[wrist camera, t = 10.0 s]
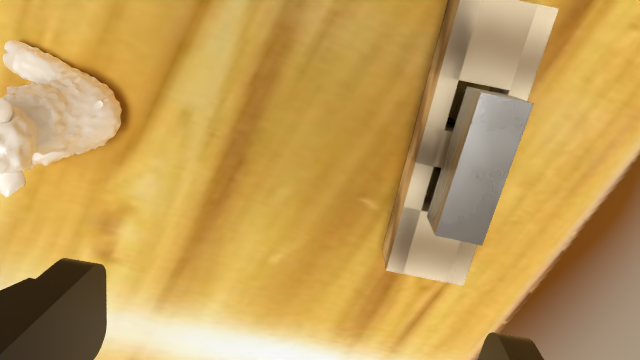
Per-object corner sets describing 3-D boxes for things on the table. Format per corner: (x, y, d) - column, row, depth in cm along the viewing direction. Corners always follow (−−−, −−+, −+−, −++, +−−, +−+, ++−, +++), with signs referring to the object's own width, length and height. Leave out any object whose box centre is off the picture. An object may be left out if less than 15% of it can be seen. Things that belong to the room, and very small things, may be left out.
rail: (450, -6, 30) (463, -11, 27) (535, 11, 30) (558, 8, 27) (382, 249, 36) (386, 270, 33) (452, 263, 36) (463, 285, 33)
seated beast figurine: (14, 38, 33) (-162, 41, 21) (126, 45, 32) (8, 50, 21) (34, 159, 36) (-111, 218, 24) (136, 166, 36) (38, 228, 24)
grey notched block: (449, 78, 32) (481, 92, 24) (489, 87, 32) (533, 103, 24) (415, 191, 35) (435, 235, 27) (452, 199, 35) (481, 245, 27)
